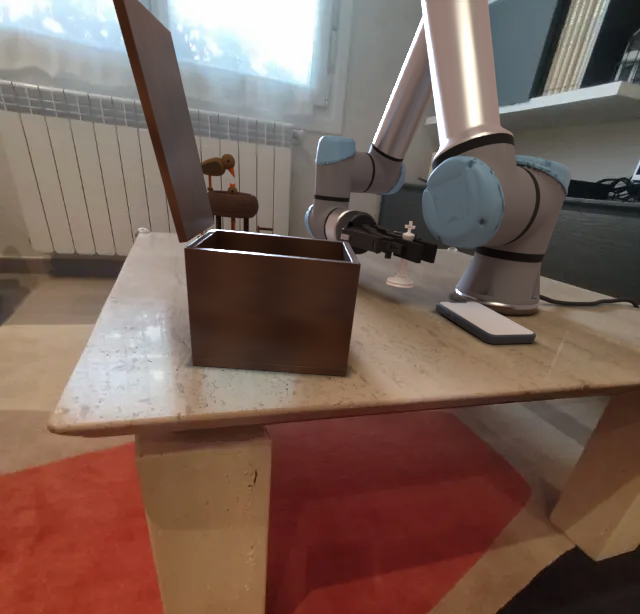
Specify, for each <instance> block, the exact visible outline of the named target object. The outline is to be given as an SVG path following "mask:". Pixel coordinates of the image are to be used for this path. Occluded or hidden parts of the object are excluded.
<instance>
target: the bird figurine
mask: <svg viewBox="0 0 640 614" xmlns="http://www.w3.org/2000/svg"><path fill="white" fill-rule="evenodd" d="M235 165H236V159H235V157H234V156H233V155H232V154H230V153H224V154H223V155H222V156H221V157H219V156H214V157H210V158H207V159H205V160H203V161H201V167H202V171H203V175H204V176H207V178H208V179H207V180H208V187H207V186H206V189H207V193H208V197H209V202H210V206H211V210H212V215H213V219H214V220H215V229H218V230H223V229H222V226H223V225H222V218H229V219H230V221H229V222H230V231H236V223H237V220H236V219H243V223H242V224H243V225H242V226H243V229H242V230H243V232H250V219H253V218H254V217H255V216H256V215H257V214H258V212H259V209H260V206H259V205H260V204H259V199H258V198H257V197H256V195H255V194H253V193H249V192H241V191H238V189H237V187H236V182H234V183H231V182H229V187H228V188H227V190H221V189H220V190H219V189H218V190H215V189H214V188H213V185H212V177H221V176H223V175H224V174H225V173H226V170H227V171H228V172H229V173H230V174H231V176H232V177H233V178H236V174H235V173H236V172H235ZM211 229H214V228H213V227H212V228H211ZM256 230H257V231H256V233H261V232H260V231H268V232H273V231H274V228H273V227H265V226H264V227H262V226H260V225H257V226H256ZM204 234H205V233H204V231H203V232H202V233H200V235H197V236H196V237H197V238H196V240H197V239H198V238H200V237H201V236H202V235H204Z"/></svg>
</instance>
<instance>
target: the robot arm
mask: <svg viewBox="0 0 640 614" xmlns="http://www.w3.org/2000/svg"><path fill="white" fill-rule="evenodd" d="M420 3H421V10H422V17H421V19H420V22H419V25H418V27H417V30H416V32H415V35H414V37H413V39H412V42H411V45H410V47H409V49H408V52H407V55H406V58H405V60H404V62H403V65H402V67H401V70H400V72H399V75H398V77H397V80H396V83H395V85H394V87H393V90H392V91H391V94H390V97H389V100H388V103H387V105H386V106H385V107H386V108H385V110H384V113H383V115H382V117H381V120H380V123H379V125H378V127H377V129H376V133H375V135H374V137H373V140H372V142H371V144H370V147H369V150H368V151H367V152H366V151H359V150H357V149H356V141H355V139H354V138H352V137H347V136H341V135H340V136H339V135H323V136H321V137H320V138H319V140H318V143H317V149H316V155H315V156H316V157H315V175H314V176H315V178H314V194H313V201H312V204H311V205H310V206H309V207H308V208H307V210H306V213H305V215H304V226H305V229H306V232H307V233H308V234H309V236H310V237H311V238H313V239H324V240H334V241H345V242H349V244H350V246H351V248H352V249H353V251H354V253H355V255H363V254H366V253H367V252H370V253H373V254H376V255H379V254H381V253H384V259H386V260H391V259H392V255H393V256H394V257H397V258H400V259H401V258H403V259H406V260H408V261H409V262H412V263H415V264H421V263H422V262H426V263H428V264H435V262H436V257H437V253H438V247H439V244H435V243H432V242H429V241H424V240H423V238H422V237H421V236H418V234H417V233H413V234H414V235H415V237H414V239H413V241H409V240H405V239H403V233H404V232H403V231H401V230H400V229H396V230H393V231H392V230H391V229H390V228H387V227H386V228H385V227H383V226H382V225H380V224H377V221H376V220H375V218H374V216H372V214H370V213H368V212H365V211H361V210H357V209H354V208H350V207H349V205H350V201H351V200H350V199H351V194H353V193H354V194H371V195H376V196H385V195H393V194H396V193H397V192H399V190H401V189H402V187H403V185H404V183H405V181H406V174H407V169H406V165H405V162H404V160H405V157H406V155H407V153H408V150H409V149H410V146H411V145H412V142H413V140H414V138H415V136H416V134H417V132H418V129H419V128H420V125H421V122H422V121H423V119H424V116H425V114H426V112H427V110H428V108H429V105H430V104H431V101H432V99H433V103H434V110H435V111H434V112H435V119H436V126H437V135H438V142H439V149H438V151H437V152H436V154H435V155H434V157H433V158H432V160H431V170H432V172H431V173H430V175H429V177H428V179H427V181H426V186H427V187H426V188H425V189H424V190H423V193H422V198H421V210H422V211H421V212H422V216H423V220H424V223H425V226H426V228H427V229H428V231H429V232H430V234H431V235H432V236H433V237H434V239H436V240H437V241H438V242H440V243H442V244H443V245H446V246H448V247H452V248H459V249H469V250H470V249H475V251H474V253H473V254H474V255H473V256H472V259H471V260H470V262H469V264H468V266H467V267H466V269H465V270H464V272H463V274H462V276H461V277H460V279H459V280H458V282H457V284H456V286H455V289H454V292H453V299H454V300H455V301H456V302H477V303H480V304H482V305H484V306H486V307H488V308H489V309H491V310H493V311H495V312H497V313H499V314H501V315H507V316H508V315H510V316H528V315H533V314H535V313H536V312H537V309H538V307H539V304H540V300H541V301H543V302H546V303H548V304H552V305H557V306H566V307H595V306H599V305H602V304H616V303H629V304H631V305H632V306H633V308H636V309H639V308H640V305H639V303H638V301H637V300H635V299H634V298H630V297H616V298H604V299H603V298H602V299H597V300H595V301H567V300H560V299H555V298H551V297H548V296H546V295H543V294H540V293H541V267H542V263H543V261H544V258H545V254H546V252H547V250H548V247H549V244H550V242H551V238H552V235H553V233H554V230H555V228H556V224H557V221H558V219H559V216H560V213H561V211H562V207H563V205H564V202H565V199H566V198H567V196H568V193H569V186H570V183H571V178H572V172H571V170H570V168H569V167H568V166H567V165H565V164H563V163H561V162H558V161H555V160H552V159H551V160H549V159H546V158H544V157H539V156H537V157H536V156H531V155H523V154H522V155H521V154H519V155H518V154H516V147H515V137H514V134H513V132H512V131H510V130H508V129H506V128H504V127H503V126H502V124H501V117H500V108H499V107H500V106H499V96H498V87H497V78H496V77H497V76H496V67H495V58H494V47H493V38H492V37H493V36H492V28H491V27H492V26H491V17H490V9H489V0H420Z"/></svg>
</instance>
